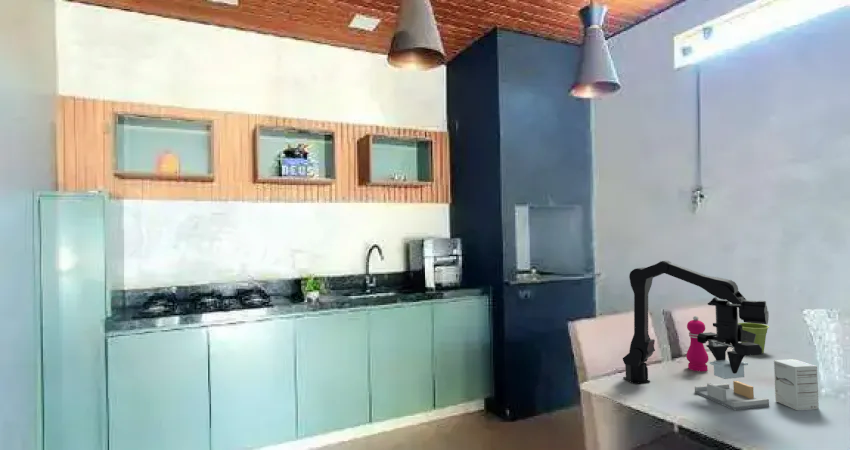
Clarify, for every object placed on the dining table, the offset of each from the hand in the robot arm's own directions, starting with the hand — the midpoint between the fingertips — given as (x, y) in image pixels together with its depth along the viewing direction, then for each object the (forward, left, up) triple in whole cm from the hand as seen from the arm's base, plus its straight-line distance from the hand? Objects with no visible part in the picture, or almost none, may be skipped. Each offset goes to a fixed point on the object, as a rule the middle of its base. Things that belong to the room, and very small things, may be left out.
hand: (728, 371), depth 141 cm
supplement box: (+14, -9, -9) cm, 19 cm away
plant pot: (+54, +44, -9) cm, 70 cm away
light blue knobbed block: (0, 0, -2) cm, 2 cm away
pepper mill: (+14, +29, -9) cm, 33 cm away
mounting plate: (0, 0, -8) cm, 9 cm away
